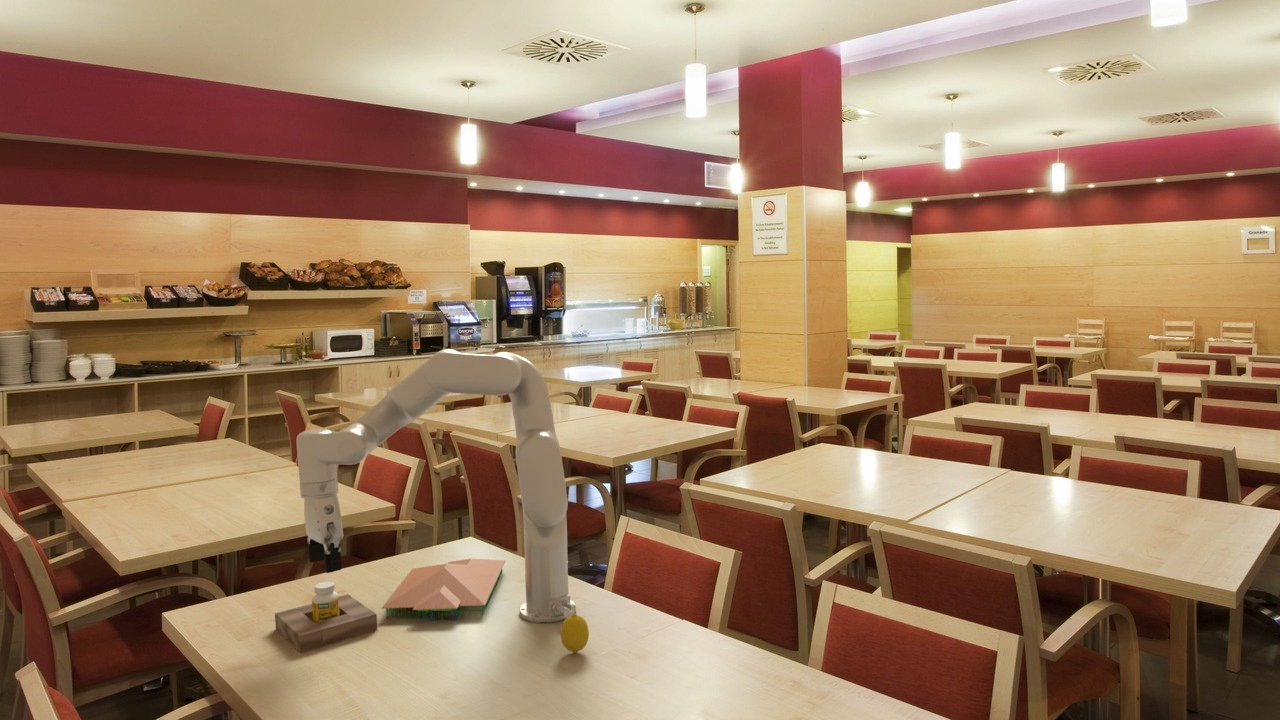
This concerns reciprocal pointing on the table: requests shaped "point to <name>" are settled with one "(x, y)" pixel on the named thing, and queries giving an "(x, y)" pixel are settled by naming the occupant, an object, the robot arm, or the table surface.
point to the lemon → (574, 633)
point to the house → (447, 587)
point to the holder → (325, 624)
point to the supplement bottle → (325, 602)
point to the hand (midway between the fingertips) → (325, 565)
